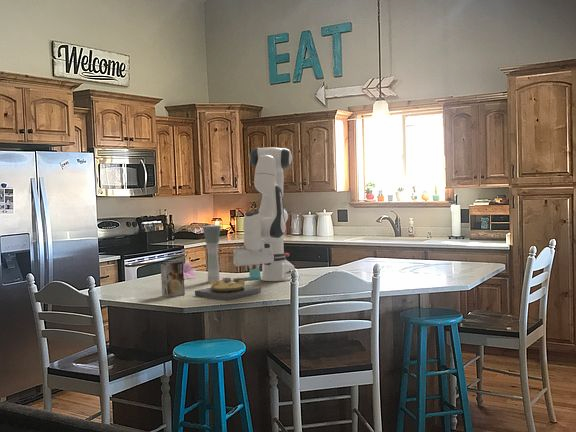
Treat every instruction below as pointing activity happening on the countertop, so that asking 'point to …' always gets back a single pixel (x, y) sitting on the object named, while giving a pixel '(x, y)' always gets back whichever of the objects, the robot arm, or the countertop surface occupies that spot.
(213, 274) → the container
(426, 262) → the countertop surface
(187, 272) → the lily
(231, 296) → the dark grey square slab
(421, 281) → the countertop surface
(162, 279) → the coffee box
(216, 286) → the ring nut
